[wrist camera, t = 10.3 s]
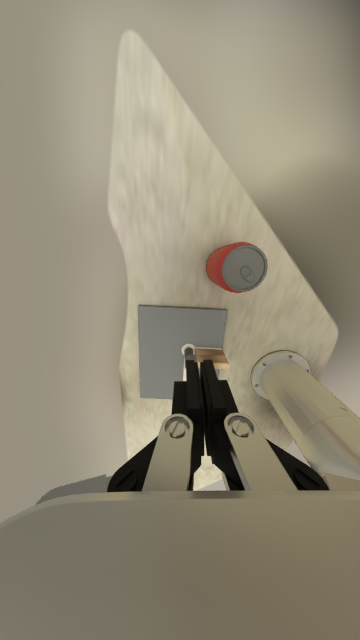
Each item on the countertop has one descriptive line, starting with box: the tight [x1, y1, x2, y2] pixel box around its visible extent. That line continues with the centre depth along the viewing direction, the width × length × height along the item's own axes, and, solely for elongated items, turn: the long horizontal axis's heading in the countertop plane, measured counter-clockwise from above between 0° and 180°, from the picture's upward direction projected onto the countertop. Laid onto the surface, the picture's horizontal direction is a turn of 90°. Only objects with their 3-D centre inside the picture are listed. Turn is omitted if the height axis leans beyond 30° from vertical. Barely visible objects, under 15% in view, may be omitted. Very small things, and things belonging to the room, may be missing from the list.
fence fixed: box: [195, 348, 228, 369], centre depth 35 cm, size 6×1×6 cm, turn 87°
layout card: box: [138, 305, 227, 399], centre depth 39 cm, size 18×22×1 cm
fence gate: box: [184, 347, 194, 368], centre depth 36 cm, size 11×2×6 cm, turn 6°
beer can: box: [206, 242, 267, 293], centre depth 27 cm, size 7×7×12 cm
